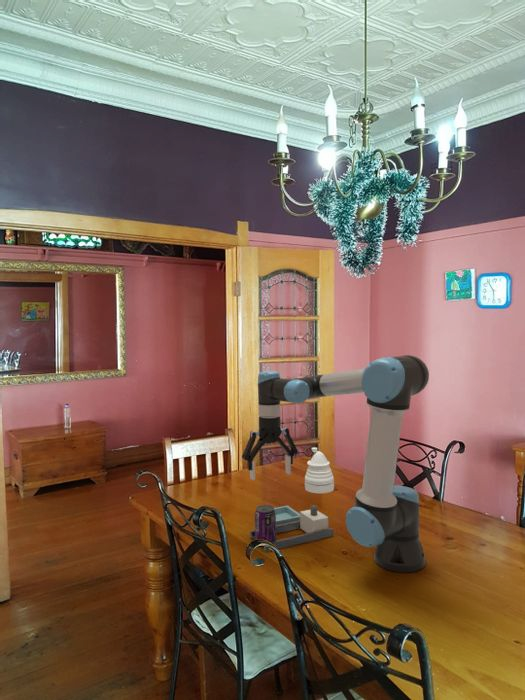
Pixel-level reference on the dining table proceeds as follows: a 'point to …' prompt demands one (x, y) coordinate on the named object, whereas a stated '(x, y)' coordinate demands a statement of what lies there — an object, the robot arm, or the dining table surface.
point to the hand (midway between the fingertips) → (270, 476)
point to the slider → (313, 520)
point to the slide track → (296, 539)
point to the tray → (286, 515)
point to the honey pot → (319, 474)
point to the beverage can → (265, 523)
